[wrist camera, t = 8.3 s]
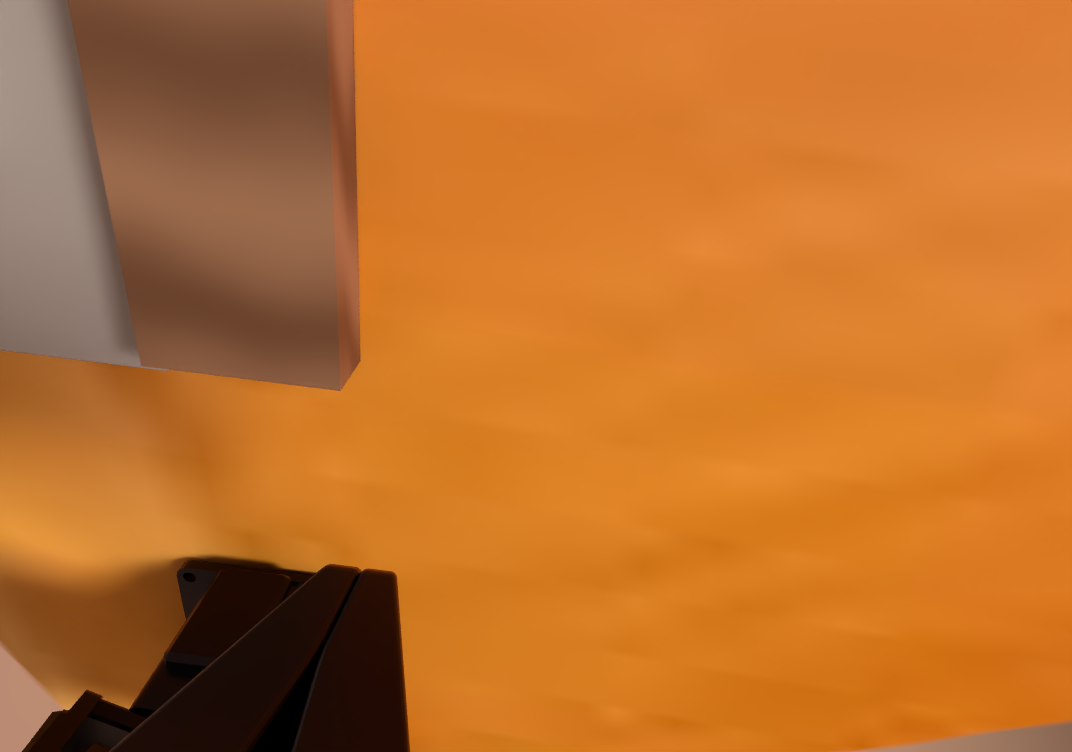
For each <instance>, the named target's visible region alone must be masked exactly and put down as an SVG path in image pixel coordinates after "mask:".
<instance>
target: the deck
mask: <svg viewBox="0 0 1072 752" xmlns="http://www.w3.org/2000/svg"><path fill="white" fill-rule="evenodd" d="M67 1H68V6H69V11H70V16H71V21H72V26H73V31H74V36H75V41H76V46H77V51H78V56H79V61H80V66H81V71H82V76H83V81H84V86H85V91H86V96H87V100H88V105H89V110H90V115H91V120H92V125H93V130H94V135H95V140H96V145H97V150H98V155H99V160H100V165H101V170H102V175H103V180H104V185H105V190H106V195H107V200H108V205H109V209H110V214H111V219H112V224H113V229H114V234H115V239H116V244H117V249H118V254H119V259H120V264H121V269H122V274H123V279H124V284H125V289H126V294H127V299H128V304H129V309H130V314H131V318H132V323H133V328H134V333H135V338H136V343H137V348H138V353H139V358H140V363H141V366H145V367H153V368H161V369H169V370H177V371H185V372H193V373H201V374H209V375H217V376H225V377H233V378H241V379H249V380H257V381H265V382H273V383H281V384H289V385H297V386H305V387H313V388H321V389H329V390H337V391H341V389H342V388H343V386H344V385H345V383H346V382H347V380H348V379H349V377H350V376H351V374H352V373H353V371H354V370H355V368H356V367H357V365H358V363H359V362H360V323H359V274H358V226H357V177H356V128H355V80H354V31H353V0H67Z"/></svg>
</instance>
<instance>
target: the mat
mask: <svg viewBox="0 0 1072 752" xmlns="http://www.w3.org/2000/svg"><path fill="white" fill-rule="evenodd" d="M0 350H4V351H11V352H19V353H27V354H35V355H43V356H51V357H59V358H67V359H75V360H83V361H91V362H99V363H107V364H115V365H123V366H131V367H139V368H147V369H155V370H163V371H168V370H169V369H161V368H153V367H145V366H141V363H140V358H139V353H138V348H137V343H136V338H135V333H134V328H133V323H132V318H131V314H130V309H129V304H128V299H127V294H126V289H125V284H124V279H123V274H122V269H121V264H120V259H119V254H118V249H117V244H116V239H115V234H114V229H113V224H112V219H111V214H110V209H109V205H108V200H107V195H106V190H105V185H104V180H103V175H102V170H101V165H100V160H99V155H98V150H97V145H96V140H95V135H94V130H93V125H92V120H91V115H90V110H89V105H88V100H87V96H86V91H85V86H84V81H83V76H82V71H81V66H80V61H79V56H78V51H77V46H76V41H75V36H74V31H73V26H72V21H71V16H70V11H69V6H68V1H67V0H0Z"/></svg>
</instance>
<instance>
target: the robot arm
mask: <svg viewBox="0 0 1072 752" xmlns="http://www.w3.org/2000/svg"><path fill="white" fill-rule="evenodd" d="M177 578H178V583H179V588H180V593H181V597H182V602H183V607H184V612H185V617H186V622H185V623H184V625H183V626H182V628H181V629H180V631H179V632H178V634H177V635H176V637H175V638H174V640H173V641H172V643H171V644H170V646H169V647H168V649H167V650H166V652H165V654H164V657H163V659H162V660H161V662H160V663H159V665H158V666H157V668H156V669H155V671H154V672H153V674H152V675H151V677H150V678H149V680H148V681H147V683H146V684H145V686H144V688H143V689H142V691H141V692H140V694H139V695H138V697H137V698H136V700H135V701H134V703H133V704H132V706H131V707H130V709H129V710H128V709H126V708H123V707H121V706H118V705H116V704H113V703H111V702H108V701H105V700H103V699H102V698H103V696H102V695H99V694H97V693H94V692H91V691H89V690H86V691H85V692H84V693H83V695H82V696H81V697H80V698H79V699H78V701H77V702H76V703H75V704H74V705H73V707H72V708H71V709H70V710H63V711H57V712H52V713H51V715H50V716H49V717H48V719H47V720H46V721H45V723H44V724H43V725H42V726H41V728H40V729H39V731H38V732H37V733H36V734H35V736H34V737H33V738H32V739H31V741H30V742H29V743H28V745H27V746H26V747H25V748H24V750H23V751H22V752H410V744H409V731H408V718H407V705H406V691H405V678H404V665H403V652H402V638H401V625H400V612H399V599H398V585H397V576H396V574H395V573H394V572H391V571H383V570H375V569H365V570H363V571H362V572H361V570H360V569H359V568H357V567H352V566H344V565H336V564H329V565H326V566H325V567H323V568H322V569H320V570H319V571H318V572H317V573H316V574H315V575H314V576H312V575H304V574H296V573H288V572H280V571H272V570H264V569H256V568H248V567H240V566H232V565H224V564H216V563H208V562H201V561H187V562H185V563H184V564H183V565H182V566H181V568H180V569H179V571H178V572H177Z"/></svg>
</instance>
